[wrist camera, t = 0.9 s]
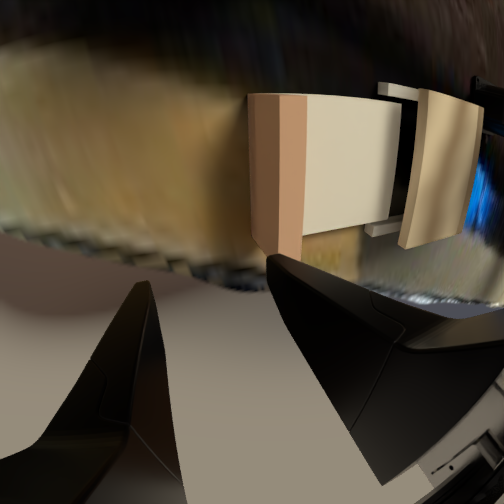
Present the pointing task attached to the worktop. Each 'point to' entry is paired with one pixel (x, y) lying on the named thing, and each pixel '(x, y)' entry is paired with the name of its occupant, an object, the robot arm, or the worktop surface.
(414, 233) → the beige open box
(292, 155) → the beige blocky piece
